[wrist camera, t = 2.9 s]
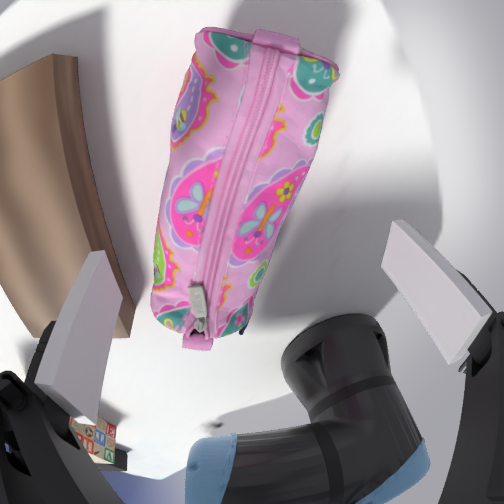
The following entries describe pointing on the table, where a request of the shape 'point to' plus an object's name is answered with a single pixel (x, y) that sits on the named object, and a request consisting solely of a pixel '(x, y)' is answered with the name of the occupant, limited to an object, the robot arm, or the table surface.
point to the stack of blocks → (97, 439)
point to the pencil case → (233, 175)
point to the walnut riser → (48, 195)
